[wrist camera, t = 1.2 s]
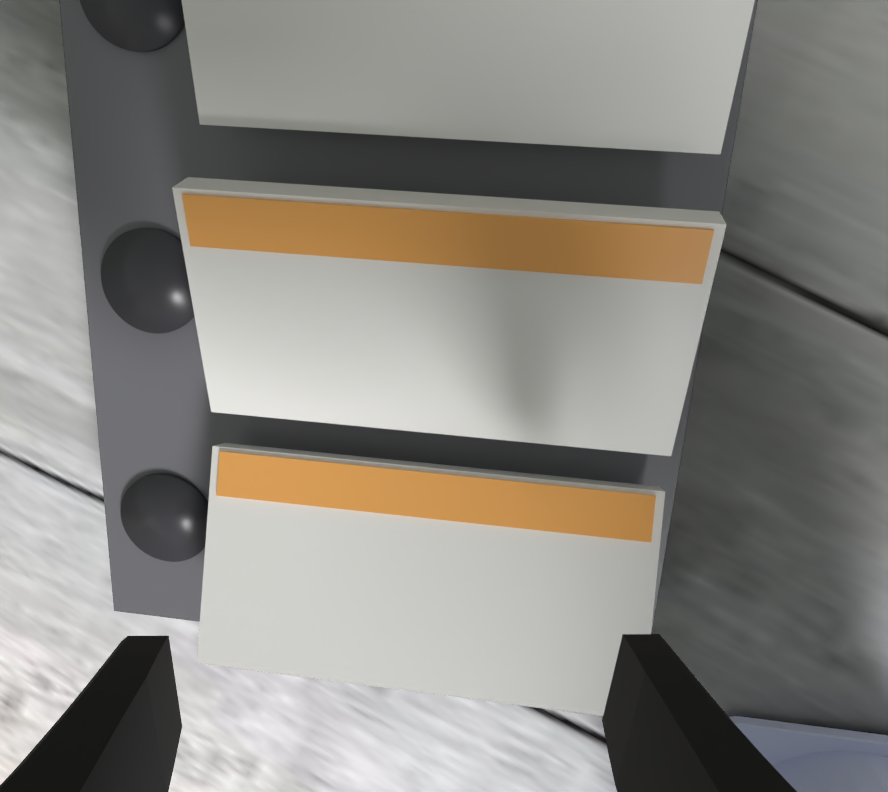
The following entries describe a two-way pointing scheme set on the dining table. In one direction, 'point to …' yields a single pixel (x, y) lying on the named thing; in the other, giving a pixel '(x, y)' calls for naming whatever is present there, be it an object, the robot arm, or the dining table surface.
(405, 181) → the rocker switch panel
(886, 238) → the dining table surface
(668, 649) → the robot arm
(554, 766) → the dining table surface
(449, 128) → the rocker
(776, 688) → the dining table surface
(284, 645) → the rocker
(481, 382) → the rocker middle
